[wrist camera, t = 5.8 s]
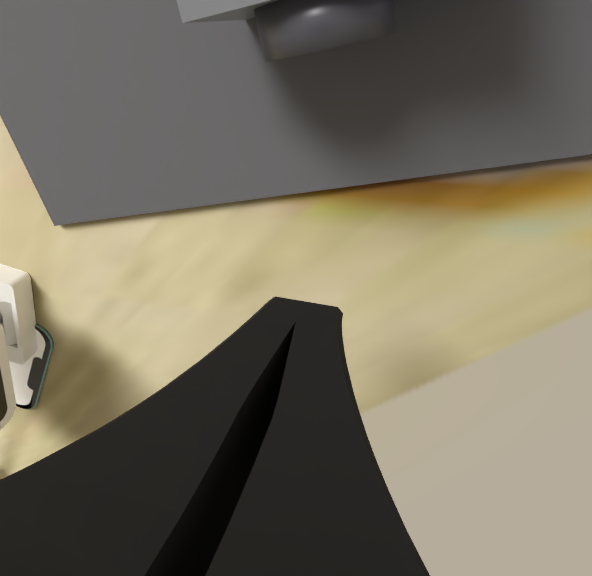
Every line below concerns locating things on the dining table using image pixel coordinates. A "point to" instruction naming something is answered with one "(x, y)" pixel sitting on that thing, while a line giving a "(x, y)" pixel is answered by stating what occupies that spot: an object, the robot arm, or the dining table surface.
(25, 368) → the smartphone
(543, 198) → the dining table surface
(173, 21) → the mat
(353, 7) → the housing
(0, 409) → the security camera
